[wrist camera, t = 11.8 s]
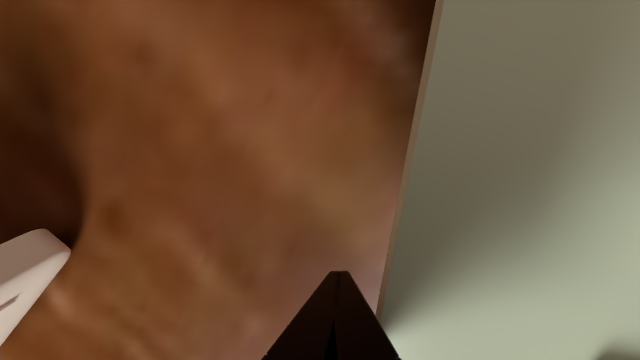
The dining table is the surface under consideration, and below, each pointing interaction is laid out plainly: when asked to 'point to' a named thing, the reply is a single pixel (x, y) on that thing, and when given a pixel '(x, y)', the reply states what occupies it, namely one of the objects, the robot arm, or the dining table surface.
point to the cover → (521, 187)
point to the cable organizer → (27, 273)
